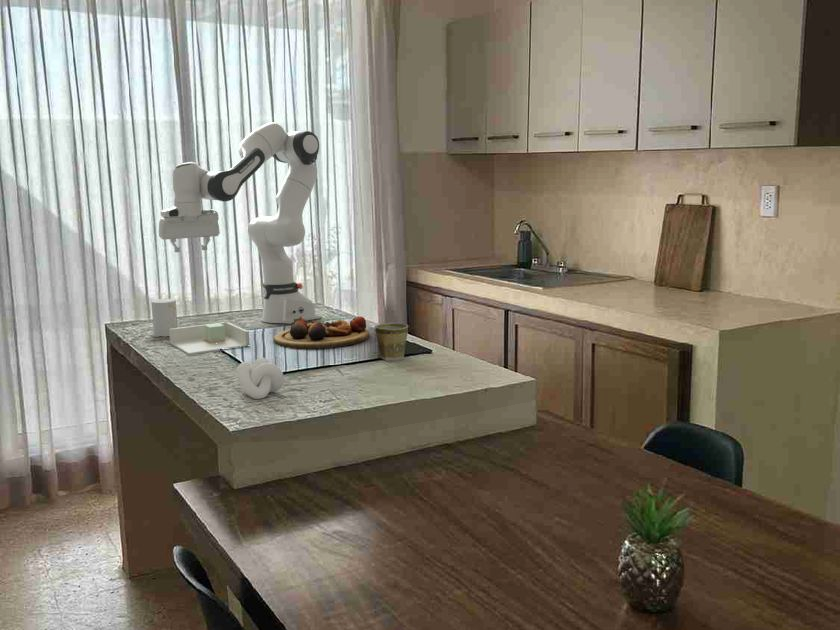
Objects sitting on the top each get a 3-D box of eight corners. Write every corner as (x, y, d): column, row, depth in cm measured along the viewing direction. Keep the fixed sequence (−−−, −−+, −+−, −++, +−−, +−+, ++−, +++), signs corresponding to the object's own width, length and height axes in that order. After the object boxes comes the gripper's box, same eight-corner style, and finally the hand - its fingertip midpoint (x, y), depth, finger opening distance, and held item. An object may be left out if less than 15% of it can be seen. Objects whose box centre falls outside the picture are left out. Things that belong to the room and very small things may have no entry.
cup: (174, 336, 284) (171, 302, 282) (150, 337, 284) (147, 302, 282) (181, 331, 292) (178, 298, 290) (158, 332, 292) (155, 298, 290)
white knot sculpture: (287, 388, 217) (286, 355, 216) (281, 401, 205) (279, 366, 204) (244, 389, 217) (242, 356, 215) (236, 402, 205) (233, 367, 204)
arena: (228, 335, 284) (227, 321, 283) (249, 346, 267) (248, 331, 266) (170, 343, 273) (169, 328, 272) (188, 354, 257) (187, 339, 256)
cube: (220, 337, 278) (219, 323, 277) (225, 340, 273) (224, 325, 273) (205, 339, 275) (204, 325, 274) (210, 342, 271) (209, 327, 270)
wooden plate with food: (376, 330, 290) (375, 307, 289) (360, 349, 259) (358, 324, 258) (288, 331, 294) (287, 308, 293) (261, 351, 263) (259, 325, 262)
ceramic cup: (404, 363, 242) (404, 329, 240) (372, 361, 244) (371, 328, 242) (414, 352, 254) (413, 321, 252) (382, 351, 256) (382, 320, 254)
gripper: (214, 208, 288) (217, 248, 291) (155, 211, 277) (158, 252, 280) (221, 209, 283) (223, 249, 285) (160, 212, 272) (164, 254, 275)
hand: (191, 251), depth 282 cm, fingers open, 8 cm apart
